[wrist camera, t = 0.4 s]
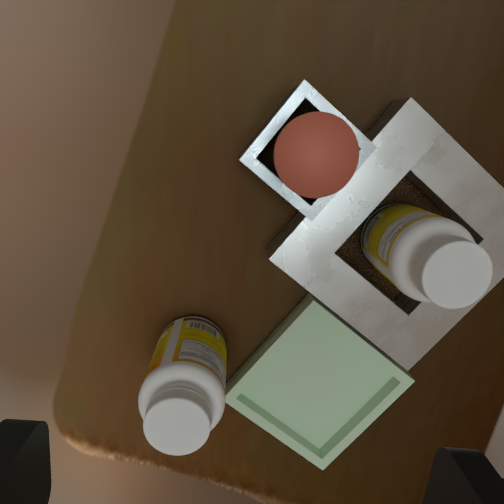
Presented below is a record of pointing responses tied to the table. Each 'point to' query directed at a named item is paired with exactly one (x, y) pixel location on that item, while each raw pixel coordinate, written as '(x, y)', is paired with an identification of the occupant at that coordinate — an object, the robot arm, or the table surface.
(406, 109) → the housing
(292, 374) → the tray
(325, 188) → the plunger
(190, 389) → the supplement bottle
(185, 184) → the table surface
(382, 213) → the supplement bottle
